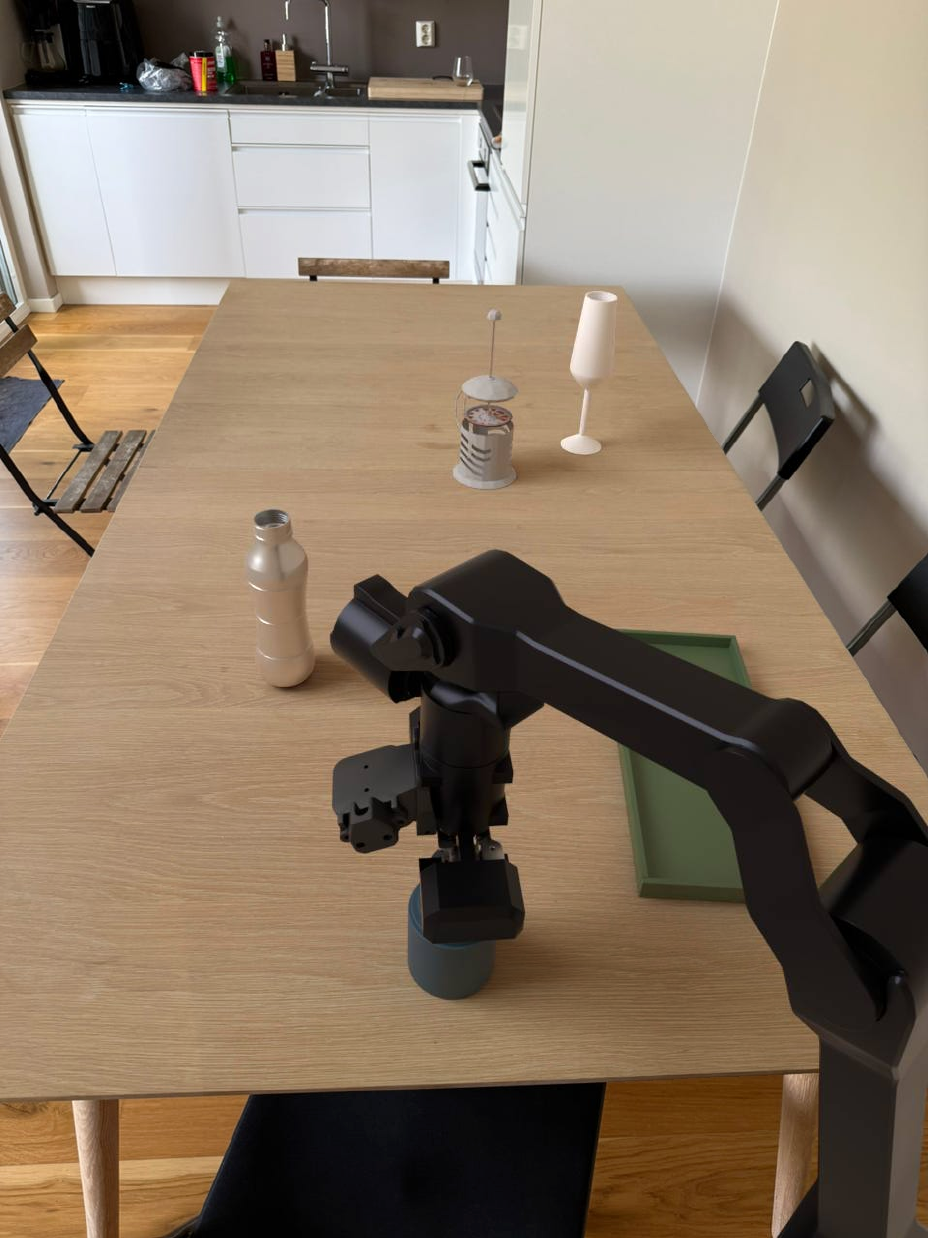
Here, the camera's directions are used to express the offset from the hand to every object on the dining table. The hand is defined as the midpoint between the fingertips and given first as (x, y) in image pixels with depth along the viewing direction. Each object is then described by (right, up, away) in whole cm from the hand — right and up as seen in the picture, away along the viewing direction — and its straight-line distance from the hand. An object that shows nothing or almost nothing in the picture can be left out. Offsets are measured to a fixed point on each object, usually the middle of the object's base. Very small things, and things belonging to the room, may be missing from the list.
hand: (455, 884), depth 66 cm
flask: (0, -8, +6) cm, 10 cm away
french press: (+3, +42, +71) cm, 83 cm away
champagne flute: (+20, +48, +79) cm, 95 cm away
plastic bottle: (-19, +13, +32) cm, 40 cm away
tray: (+24, +6, +25) cm, 35 cm away
